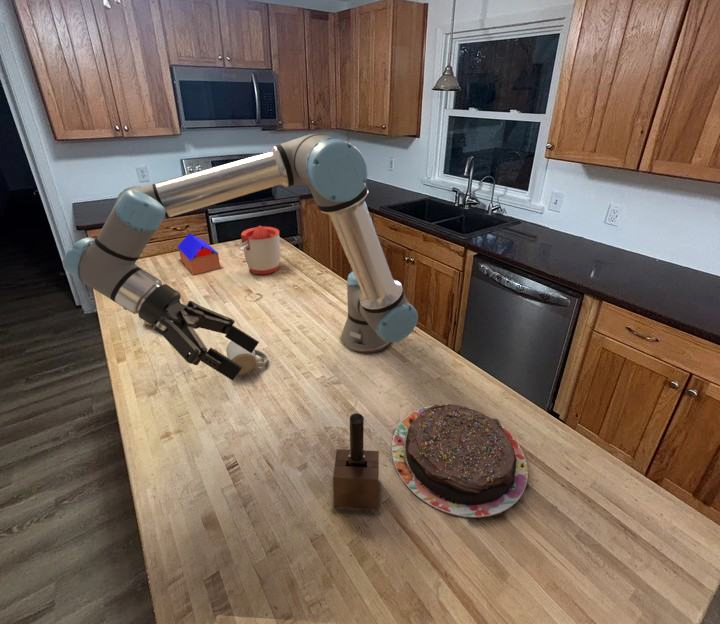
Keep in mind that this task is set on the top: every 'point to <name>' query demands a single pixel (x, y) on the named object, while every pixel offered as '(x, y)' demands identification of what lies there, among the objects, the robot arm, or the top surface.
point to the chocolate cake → (460, 461)
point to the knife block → (356, 481)
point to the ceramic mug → (245, 357)
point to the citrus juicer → (261, 249)
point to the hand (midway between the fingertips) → (247, 359)
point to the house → (198, 255)
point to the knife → (356, 441)
